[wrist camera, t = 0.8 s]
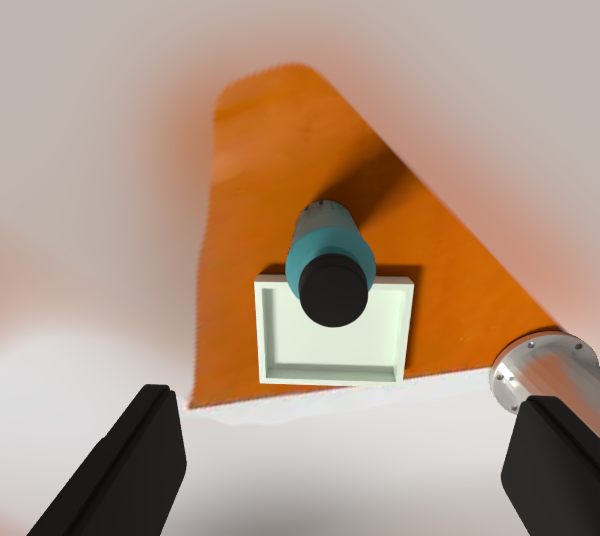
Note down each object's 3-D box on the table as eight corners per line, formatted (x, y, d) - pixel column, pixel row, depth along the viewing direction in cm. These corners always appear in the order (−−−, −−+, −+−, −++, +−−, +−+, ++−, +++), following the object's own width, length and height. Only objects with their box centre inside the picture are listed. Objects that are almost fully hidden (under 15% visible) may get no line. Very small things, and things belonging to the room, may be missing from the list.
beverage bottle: (324, 184, 35) (332, 213, 16) (366, 225, 36) (419, 298, 17) (284, 226, 36) (248, 298, 18) (325, 264, 38) (333, 370, 19)
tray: (408, 276, 38) (414, 284, 35) (397, 374, 42) (401, 387, 40) (258, 274, 39) (254, 281, 36) (263, 370, 43) (259, 383, 41)
